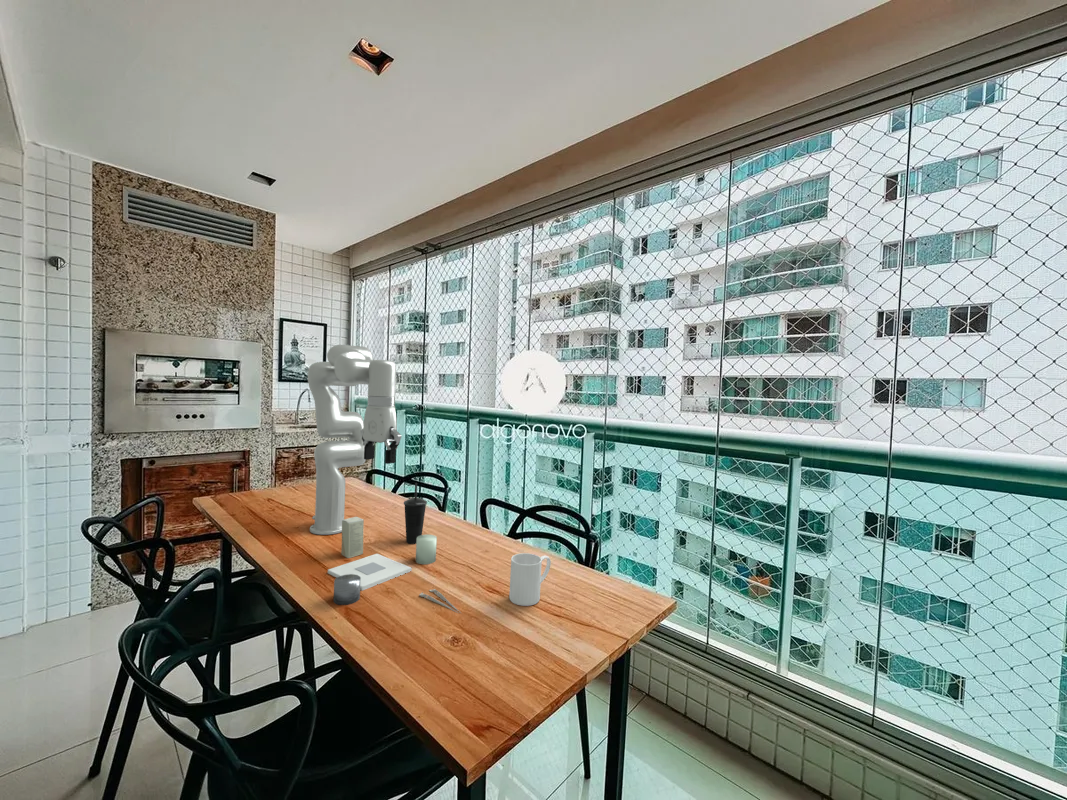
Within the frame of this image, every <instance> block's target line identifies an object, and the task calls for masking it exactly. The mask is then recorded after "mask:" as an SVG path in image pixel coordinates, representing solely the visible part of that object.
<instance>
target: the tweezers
mask: <svg viewBox="0 0 1067 800" xmlns="http://www.w3.org/2000/svg"><path fill="white" fill-rule="evenodd" d="M429 591H430V592H429ZM428 592H429V593H433V592H434V593H433V594H435V595H436V596H437V597H438V598H439V597H440V598H439V599H440V600H442V601H444V602H441V601H440V600H437V599H436V598H435V597H433V596H431V595H429V594H425V593H424V592H421V593H419V595H418V596H419V597H421V598H423V597H424V598H423V599H426V598H427V600H428V599H429V601H432V602H433V603H435V604H437V605H440V606H443V607H444V606H445V607H444V608H446V609H449V610H451V611H453V612H455V613H457V614H459V613H460V614H462V612H461V611H460V610H459V609H458V608H457V607H455V606H454V604H452V603H451V602H450V601H449V600H448V599H447V598H446V597H445V596H444V595H443V594H442V593H441V592H440V591H438V590H437V589H436V588H434V589H429V590H428ZM445 601H446V602H445ZM445 603H446V604H445ZM447 604H448V605H449V606H448V605H447ZM450 606H451V607H450ZM458 611H459V612H458Z"/></svg>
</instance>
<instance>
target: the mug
mask: <svg viewBox="0 0 1067 800" xmlns="http://www.w3.org/2000/svg"><path fill="white" fill-rule="evenodd" d="M545 559H546V565H545V566H546V567H545V568H544V571H543V573H542V565H543V564H542V562H543V561H544V560H545ZM510 560H511V561H510V577H509V578H510V579H509V582H510V583H509V596H508V597H509V601H510V602H511V603H513V604H514V605H517V606H523V607H529V606H533V605H536V604H537V603H539V601H540V597H541V584H542V582H544V581H545V579H546V577H547V576H548V574H549V573H550V570H551V562H552V561H551V558H550V557H549V556H548V555H542V556H539V555H537V554H533V553H529V552H527V553H526V552H521V553H516V554H513V555H512V556H511V558H510Z"/></svg>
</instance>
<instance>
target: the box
mask: <svg viewBox="0 0 1067 800" xmlns="http://www.w3.org/2000/svg"><path fill="white" fill-rule="evenodd" d="M363 554H364V519H363V518H361V517H358V516H352V517H349V518H344V520H342V532H341V554H340V555H341V556H343V557H345V558H346V559H351V558H354V557H357V556H360V555H363Z"/></svg>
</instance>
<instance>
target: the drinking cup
mask: <svg viewBox="0 0 1067 800" xmlns="http://www.w3.org/2000/svg"><path fill="white" fill-rule="evenodd" d="M417 496H418V483H417V482H415V483H414V497H412V498H409V499H406V500H404V502H403V505H404V519H405V520H404V521H405V522H404V523H405V524H404V525H405V538H406V539H405V543H407V544H409V545H416V541H417V537H418V536H420V535H423V529H424V524H425V523H424V521H425V515H426V514H425V513H426V506H427V504H428V502H427V500H425V499H423V498H421V497H417Z"/></svg>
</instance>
